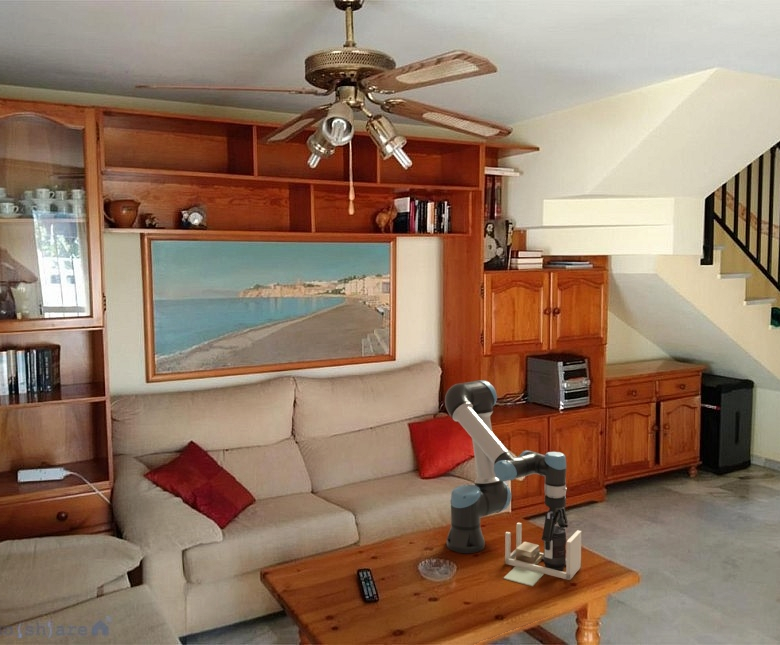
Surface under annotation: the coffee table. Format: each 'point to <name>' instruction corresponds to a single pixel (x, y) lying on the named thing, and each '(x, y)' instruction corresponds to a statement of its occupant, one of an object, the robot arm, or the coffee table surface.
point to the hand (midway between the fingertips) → (555, 550)
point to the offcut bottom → (533, 563)
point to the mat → (524, 576)
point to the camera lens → (557, 550)
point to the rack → (571, 555)
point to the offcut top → (527, 549)
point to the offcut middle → (528, 559)
